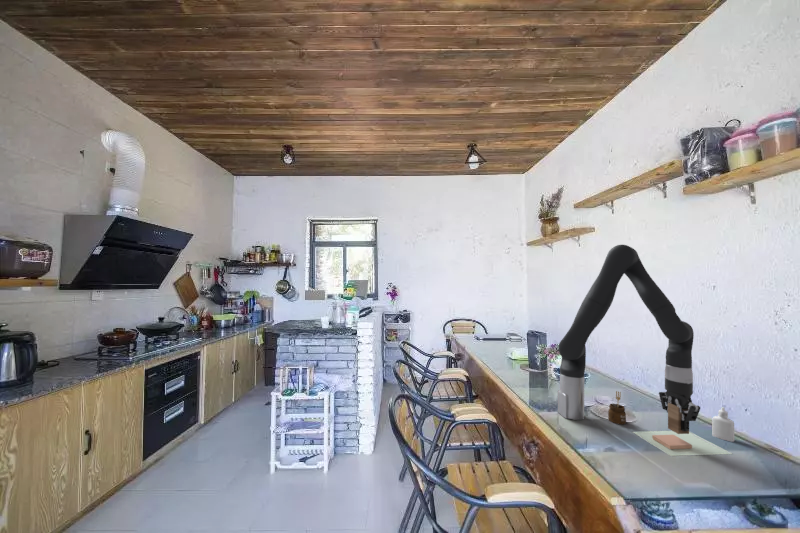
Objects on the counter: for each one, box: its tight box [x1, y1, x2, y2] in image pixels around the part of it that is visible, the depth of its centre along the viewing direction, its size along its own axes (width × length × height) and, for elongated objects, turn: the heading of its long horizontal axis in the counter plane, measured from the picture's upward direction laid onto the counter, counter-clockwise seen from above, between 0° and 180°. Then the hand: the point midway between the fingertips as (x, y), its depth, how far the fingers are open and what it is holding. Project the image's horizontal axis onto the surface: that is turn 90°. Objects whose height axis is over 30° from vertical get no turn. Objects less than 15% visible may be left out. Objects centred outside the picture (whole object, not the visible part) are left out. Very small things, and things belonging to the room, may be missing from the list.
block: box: [667, 403, 690, 434], centre depth 115 cm, size 4×4×9 cm
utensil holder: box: [607, 390, 627, 425], centre depth 132 cm, size 6×6×12 cm
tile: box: [652, 435, 692, 449], centre depth 114 cm, size 1×7×8 cm
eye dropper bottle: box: [711, 406, 735, 443], centre depth 119 cm, size 4×6×12 cm
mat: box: [632, 430, 733, 457], centre depth 116 cm, size 22×16×1 cm
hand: (678, 427), depth 115 cm, fingers closed on block, 4 cm apart
